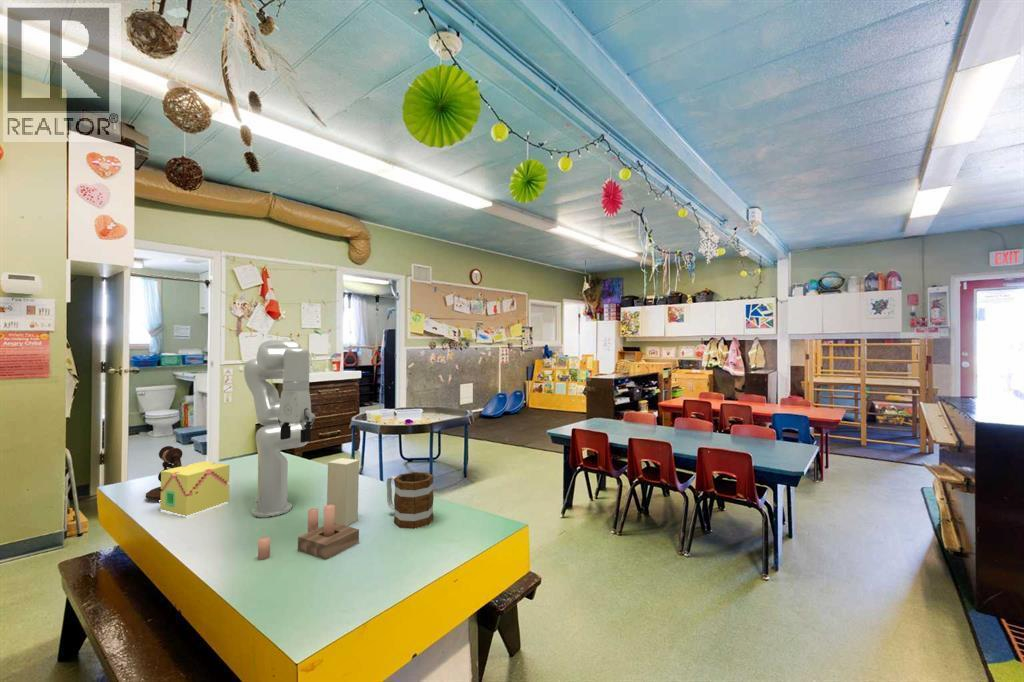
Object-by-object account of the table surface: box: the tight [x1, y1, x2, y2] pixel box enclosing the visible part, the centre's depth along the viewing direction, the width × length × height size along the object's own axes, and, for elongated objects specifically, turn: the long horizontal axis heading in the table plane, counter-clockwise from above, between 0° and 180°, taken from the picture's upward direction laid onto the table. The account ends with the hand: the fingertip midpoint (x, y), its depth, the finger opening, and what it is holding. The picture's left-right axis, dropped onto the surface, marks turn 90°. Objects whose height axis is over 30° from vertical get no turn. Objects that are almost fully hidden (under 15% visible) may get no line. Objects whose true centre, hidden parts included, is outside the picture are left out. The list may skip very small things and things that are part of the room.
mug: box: [385, 471, 435, 530], centre depth 148 cm, size 20×14×15 cm
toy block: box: [159, 460, 230, 516], centre depth 158 cm, size 15×15×15 cm
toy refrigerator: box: [326, 457, 360, 527], centre depth 145 cm, size 8×7×21 cm
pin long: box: [323, 504, 335, 537], centre depth 127 cm, size 3×3×12 cm
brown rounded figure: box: [145, 445, 183, 501], centre depth 170 cm, size 15×15×20 cm
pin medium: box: [307, 508, 319, 533], centre depth 135 cm, size 3×3×8 cm
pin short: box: [257, 536, 271, 561], centre depth 120 cm, size 3×3×5 cm
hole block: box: [297, 523, 360, 561], centre depth 127 cm, size 12×12×4 cm
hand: (295, 440), depth 135 cm, fingers open, 9 cm apart
